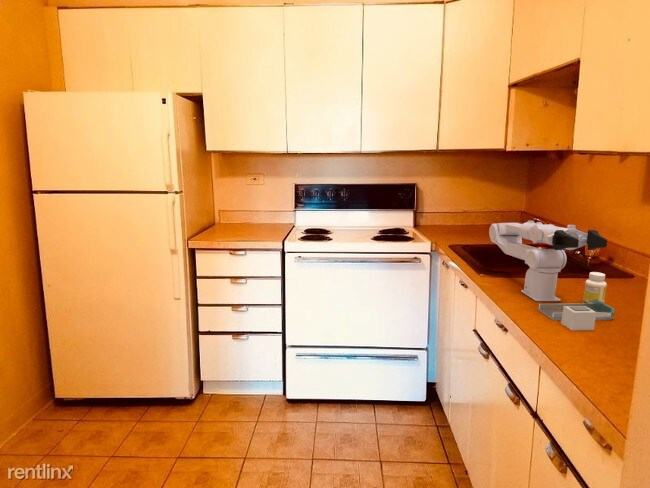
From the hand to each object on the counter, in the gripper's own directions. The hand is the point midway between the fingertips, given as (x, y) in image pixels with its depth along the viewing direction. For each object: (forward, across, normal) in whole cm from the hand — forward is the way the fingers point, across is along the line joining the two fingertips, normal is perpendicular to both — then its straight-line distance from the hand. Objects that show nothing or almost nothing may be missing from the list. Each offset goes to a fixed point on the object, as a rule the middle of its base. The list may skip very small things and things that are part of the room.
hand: (591, 243), depth 113 cm
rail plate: (-6, +2, +21) cm, 22 cm away
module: (+2, -3, +22) cm, 22 cm away
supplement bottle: (-14, +12, +21) cm, 28 cm away
